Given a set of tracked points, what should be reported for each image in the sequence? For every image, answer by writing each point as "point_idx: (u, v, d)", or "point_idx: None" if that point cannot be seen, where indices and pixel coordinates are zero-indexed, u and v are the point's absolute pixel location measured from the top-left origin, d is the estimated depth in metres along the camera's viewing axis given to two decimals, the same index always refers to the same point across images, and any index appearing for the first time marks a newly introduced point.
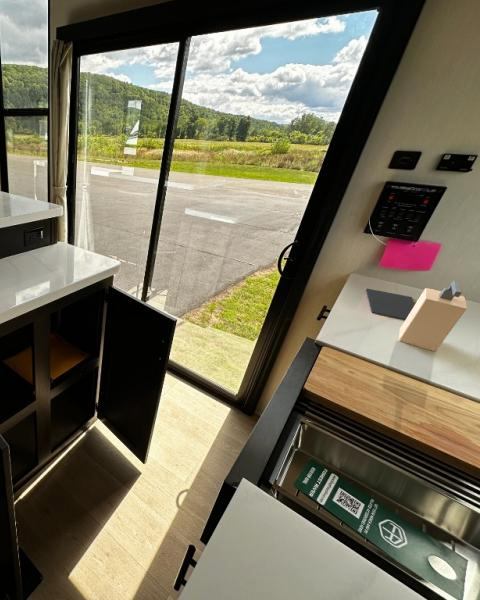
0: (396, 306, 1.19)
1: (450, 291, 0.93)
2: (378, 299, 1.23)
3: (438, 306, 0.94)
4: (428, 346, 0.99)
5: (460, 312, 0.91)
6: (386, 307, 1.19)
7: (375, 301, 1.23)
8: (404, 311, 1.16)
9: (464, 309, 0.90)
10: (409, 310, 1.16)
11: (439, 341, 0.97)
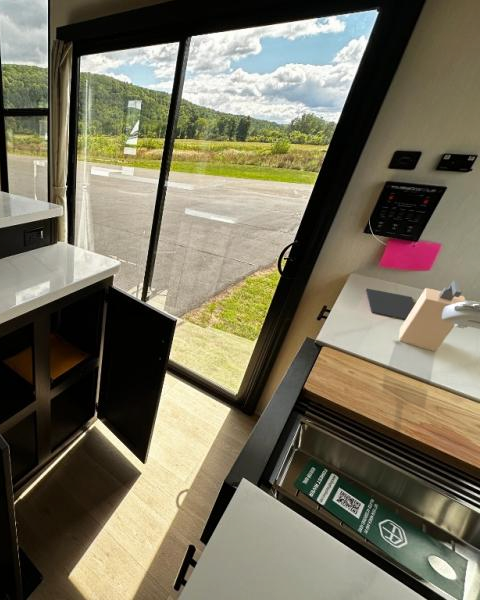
0: (396, 306, 1.19)
1: (450, 291, 0.93)
2: (378, 299, 1.23)
3: (438, 306, 0.94)
4: (428, 346, 0.99)
5: None
6: (386, 307, 1.19)
7: (375, 301, 1.23)
8: (404, 311, 1.16)
9: None
10: (409, 310, 1.16)
11: (439, 341, 0.97)
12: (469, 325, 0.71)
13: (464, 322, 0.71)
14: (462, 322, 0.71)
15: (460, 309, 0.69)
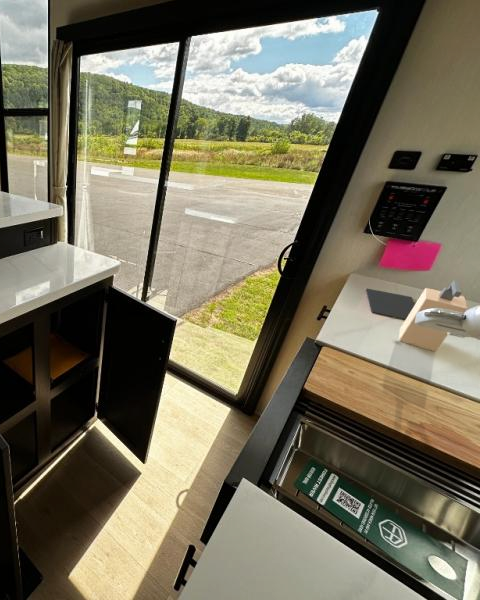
0: (396, 306, 1.19)
1: (450, 291, 0.93)
2: (378, 299, 1.23)
3: (438, 306, 0.94)
4: (428, 346, 0.99)
5: None
6: (386, 307, 1.19)
7: (375, 301, 1.23)
8: (404, 311, 1.16)
9: (464, 309, 0.90)
10: (409, 310, 1.16)
11: (439, 341, 0.97)
12: (438, 328, 0.82)
13: (433, 326, 0.82)
14: (431, 326, 0.82)
15: (428, 314, 0.80)
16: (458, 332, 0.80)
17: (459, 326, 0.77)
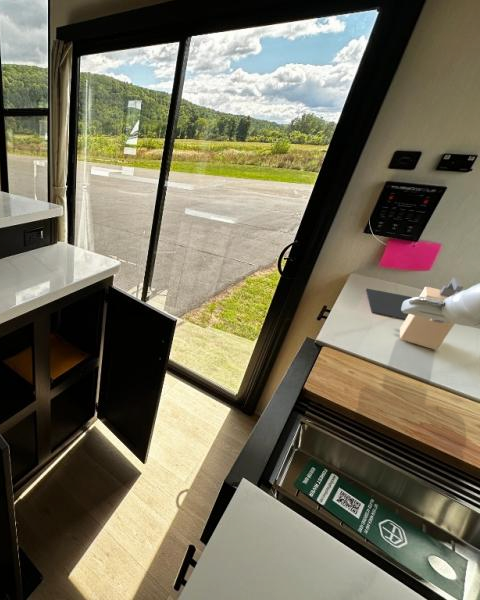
0: (396, 306, 1.19)
1: (450, 288, 0.94)
2: (378, 299, 1.23)
3: None
4: (429, 344, 0.99)
5: None
6: (386, 307, 1.19)
7: (375, 301, 1.23)
8: None
9: None
10: None
11: (440, 339, 0.96)
12: (421, 315, 0.92)
13: (417, 313, 0.92)
14: (416, 313, 0.92)
15: (413, 302, 0.90)
16: (439, 318, 0.90)
17: (439, 312, 0.87)
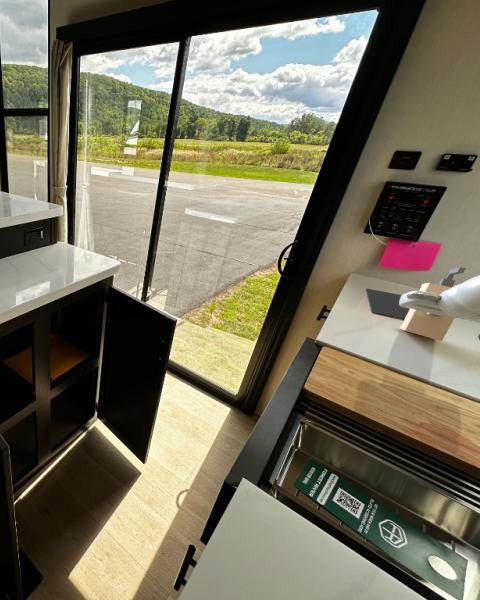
0: (396, 306, 1.19)
1: (449, 279, 0.98)
2: (378, 299, 1.23)
3: (441, 290, 0.97)
4: (434, 335, 0.98)
5: None
6: (386, 307, 1.19)
7: (375, 301, 1.23)
8: (404, 311, 1.16)
9: None
10: None
11: (445, 328, 0.96)
12: (418, 309, 0.95)
13: (414, 307, 0.94)
14: (413, 307, 0.95)
15: (410, 296, 0.92)
16: (435, 311, 0.92)
17: (436, 306, 0.89)
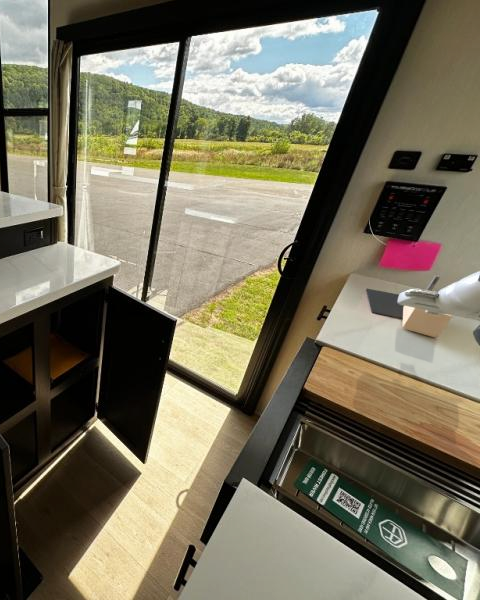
0: (396, 306, 1.19)
1: None
2: (378, 299, 1.23)
3: None
4: None
5: None
6: (386, 307, 1.19)
7: (375, 301, 1.23)
8: None
9: None
10: None
11: None
12: (416, 306, 0.96)
13: (412, 304, 0.96)
14: (411, 304, 0.96)
15: (408, 294, 0.94)
16: (433, 309, 0.94)
17: (433, 303, 0.91)
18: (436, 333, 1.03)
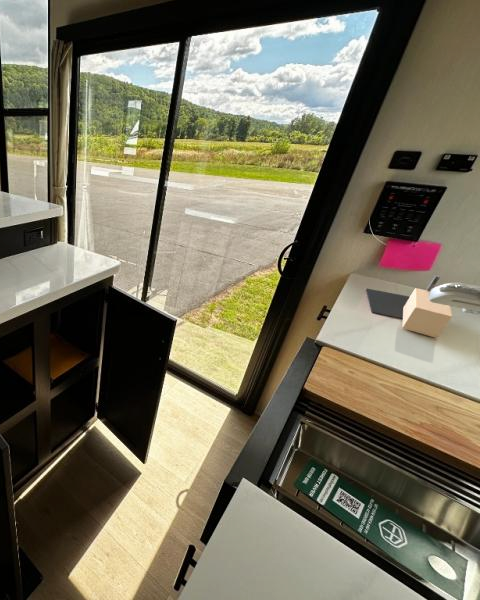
0: (396, 306, 1.19)
1: None
2: (378, 299, 1.23)
3: (428, 292, 1.11)
4: (443, 312, 1.00)
5: None
6: (386, 307, 1.19)
7: (375, 301, 1.23)
8: None
9: None
10: None
11: (448, 310, 1.01)
12: (453, 304, 0.79)
13: (448, 302, 0.79)
14: (447, 302, 0.79)
15: (444, 289, 0.77)
16: (475, 308, 0.77)
17: (477, 301, 0.74)
18: (436, 333, 1.03)
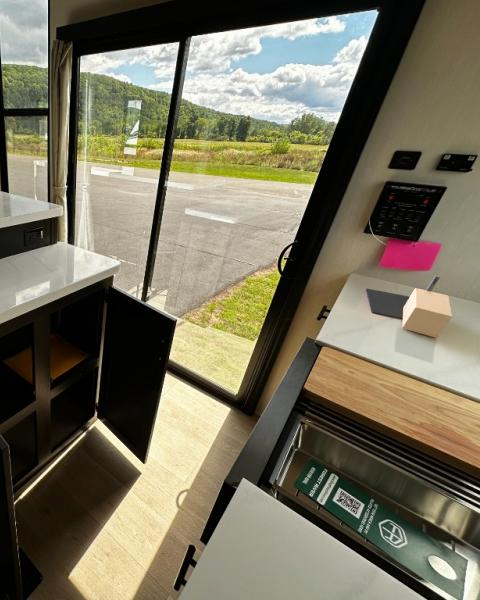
0: (396, 306, 1.19)
1: None
2: (378, 299, 1.23)
3: (428, 292, 1.11)
4: (443, 312, 1.00)
5: (446, 296, 1.08)
6: (386, 307, 1.19)
7: (375, 301, 1.23)
8: None
9: (447, 295, 1.08)
10: None
11: (448, 310, 1.01)
12: None
13: None
14: None
15: None
16: None
17: None
18: (436, 333, 1.03)
